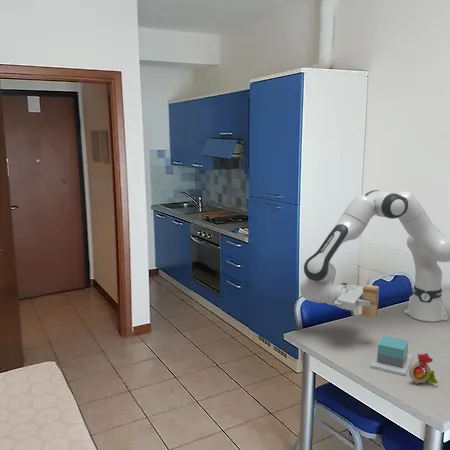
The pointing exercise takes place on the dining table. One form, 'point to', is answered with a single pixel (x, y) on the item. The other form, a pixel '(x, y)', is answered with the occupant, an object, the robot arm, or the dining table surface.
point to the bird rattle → (418, 372)
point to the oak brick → (371, 295)
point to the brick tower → (392, 356)
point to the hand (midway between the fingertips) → (372, 300)
